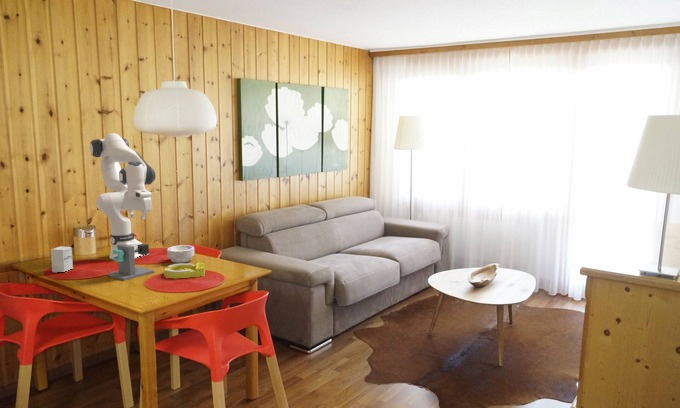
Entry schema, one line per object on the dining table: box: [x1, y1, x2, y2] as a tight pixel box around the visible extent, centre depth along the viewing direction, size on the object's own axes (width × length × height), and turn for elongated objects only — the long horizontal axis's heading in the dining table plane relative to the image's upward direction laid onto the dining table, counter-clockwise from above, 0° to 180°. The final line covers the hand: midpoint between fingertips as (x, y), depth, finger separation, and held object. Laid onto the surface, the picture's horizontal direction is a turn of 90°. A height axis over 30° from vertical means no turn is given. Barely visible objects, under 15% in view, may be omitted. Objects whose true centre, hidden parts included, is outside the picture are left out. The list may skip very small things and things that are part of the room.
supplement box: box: [50, 245, 74, 273], centre depth 286 cm, size 7×7×13 cm
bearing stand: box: [107, 244, 155, 281], centre depth 282 cm, size 18×14×16 cm
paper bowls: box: [166, 244, 195, 264], centre depth 310 cm, size 15×15×8 cm
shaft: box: [112, 243, 150, 257], centre depth 282 cm, size 20×4×5 cm, turn 146°
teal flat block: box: [112, 249, 124, 263], centre depth 276 cm, size 2×6×6 cm, turn 56°
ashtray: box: [163, 262, 206, 279], centre depth 284 cm, size 16×21×5 cm
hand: (137, 218), depth 285 cm, fingers open, 8 cm apart
